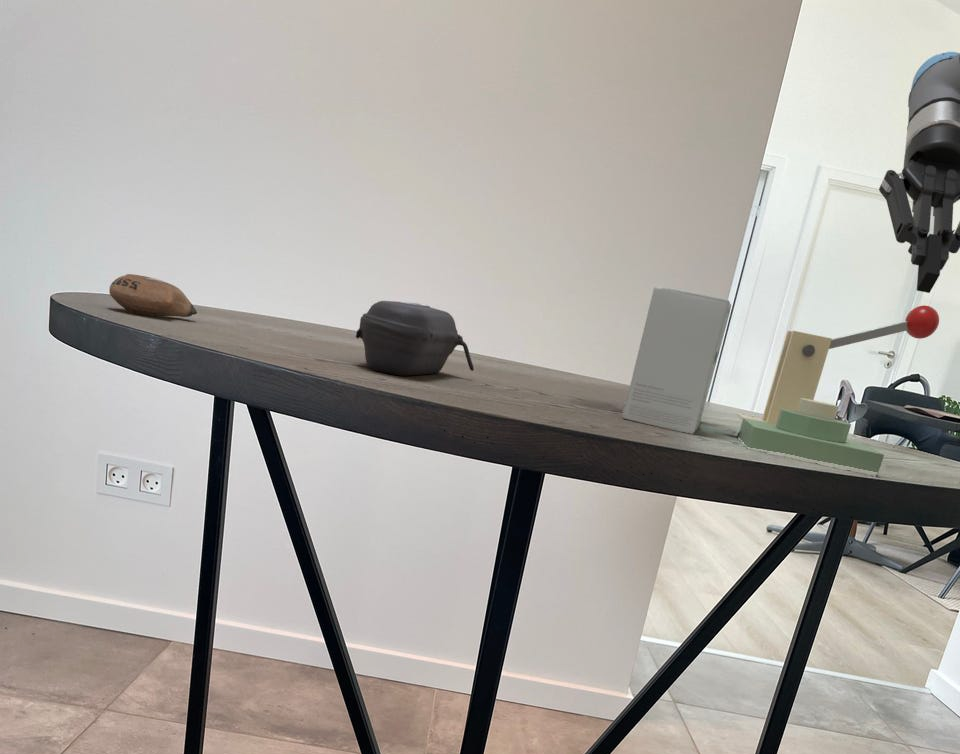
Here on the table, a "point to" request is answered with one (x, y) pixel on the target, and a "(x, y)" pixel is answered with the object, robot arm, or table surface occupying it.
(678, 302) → the white packaging box
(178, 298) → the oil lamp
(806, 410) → the button
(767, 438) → the button box
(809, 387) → the bracket
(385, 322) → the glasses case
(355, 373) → the table surface
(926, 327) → the lever
